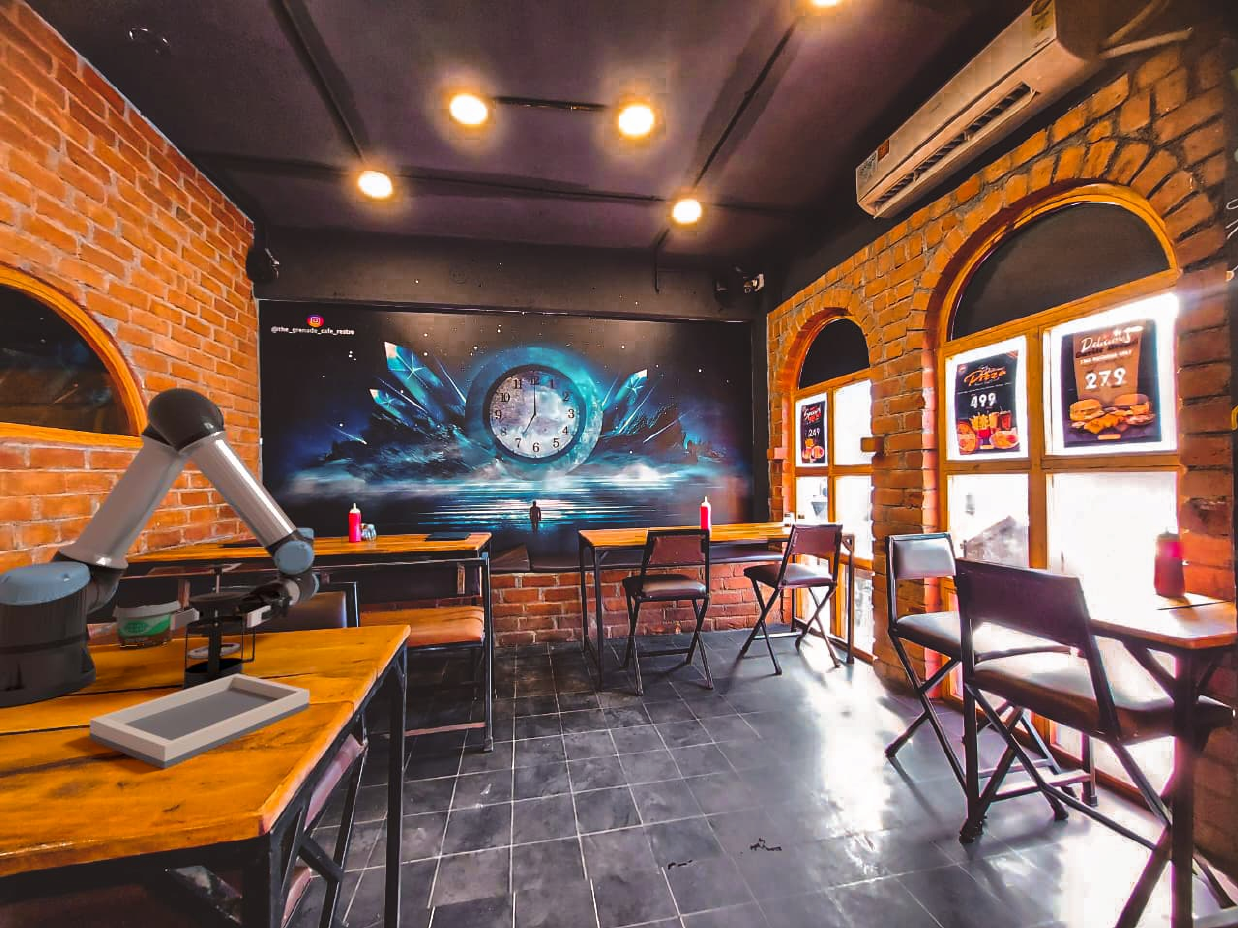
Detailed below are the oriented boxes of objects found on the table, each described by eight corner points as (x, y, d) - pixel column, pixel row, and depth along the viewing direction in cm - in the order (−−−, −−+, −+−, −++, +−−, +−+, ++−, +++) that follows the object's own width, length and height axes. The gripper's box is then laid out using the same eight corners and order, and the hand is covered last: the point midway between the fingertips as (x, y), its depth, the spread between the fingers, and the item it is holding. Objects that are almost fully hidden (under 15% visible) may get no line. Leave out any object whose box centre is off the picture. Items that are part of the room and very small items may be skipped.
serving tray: (89, 739, 75) (90, 719, 75) (236, 689, 94) (237, 673, 94) (164, 769, 67) (165, 746, 67) (309, 707, 86) (309, 690, 86)
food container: (103, 655, 113) (105, 611, 114) (111, 648, 118) (113, 605, 119) (174, 645, 120) (176, 604, 120) (179, 639, 125) (181, 599, 125)
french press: (174, 697, 90) (180, 570, 91) (180, 681, 98) (185, 564, 99) (254, 682, 97) (258, 565, 98) (253, 668, 105) (257, 559, 106)
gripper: (328, 612, 118) (279, 638, 97) (215, 615, 115) (138, 643, 94) (329, 580, 118) (281, 600, 97) (216, 582, 115) (140, 603, 94)
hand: (211, 621), depth 96 cm, fingers open, 13 cm apart
